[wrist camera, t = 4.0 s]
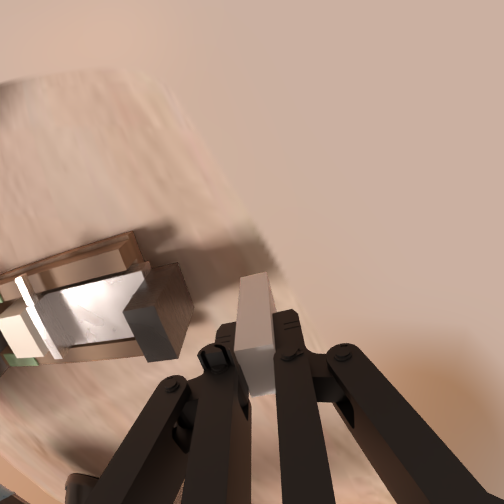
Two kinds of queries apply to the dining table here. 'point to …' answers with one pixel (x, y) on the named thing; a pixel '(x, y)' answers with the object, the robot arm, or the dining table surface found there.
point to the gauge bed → (68, 272)
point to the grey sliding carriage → (115, 310)
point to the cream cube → (22, 331)
